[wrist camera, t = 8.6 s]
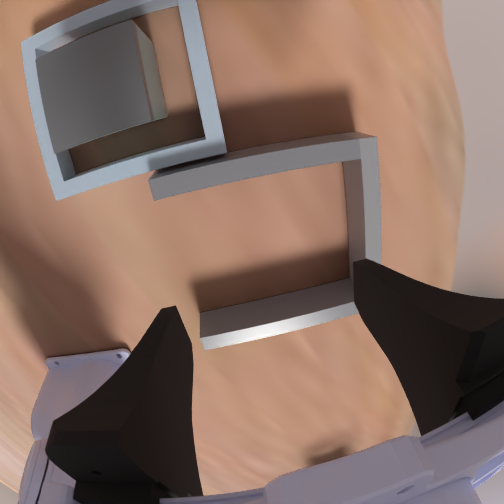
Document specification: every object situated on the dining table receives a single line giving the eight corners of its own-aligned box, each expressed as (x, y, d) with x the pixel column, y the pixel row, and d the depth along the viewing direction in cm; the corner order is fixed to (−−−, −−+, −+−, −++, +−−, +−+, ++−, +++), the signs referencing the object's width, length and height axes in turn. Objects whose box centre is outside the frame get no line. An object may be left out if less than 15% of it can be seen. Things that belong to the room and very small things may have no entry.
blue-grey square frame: (68, 192, 19) (56, 201, 17) (35, 45, 14) (20, 42, 12) (225, 148, 19) (227, 152, 17) (193, -11, 14) (191, -22, 12)
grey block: (94, 139, 17) (54, 154, 12) (79, 69, 15) (35, 59, 10) (168, 116, 18) (151, 121, 12) (153, 43, 15) (131, 19, 10)
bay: (204, 324, 25) (204, 350, 22) (156, 169, 19) (148, 180, 16) (363, 286, 25) (378, 306, 22) (355, 131, 19) (376, 137, 17)
